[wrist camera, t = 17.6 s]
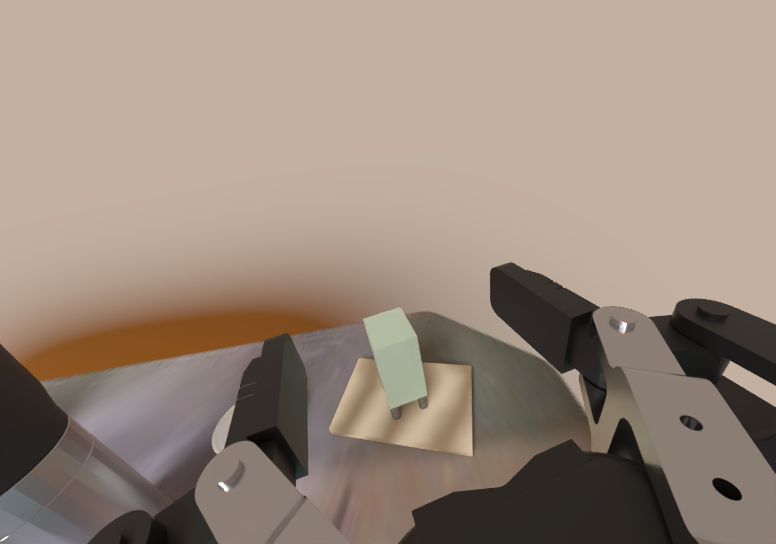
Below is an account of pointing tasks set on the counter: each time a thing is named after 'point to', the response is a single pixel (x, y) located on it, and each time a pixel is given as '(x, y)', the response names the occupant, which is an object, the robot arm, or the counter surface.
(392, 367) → the green block
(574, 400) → the counter surface
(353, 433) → the peg board
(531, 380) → the counter surface
